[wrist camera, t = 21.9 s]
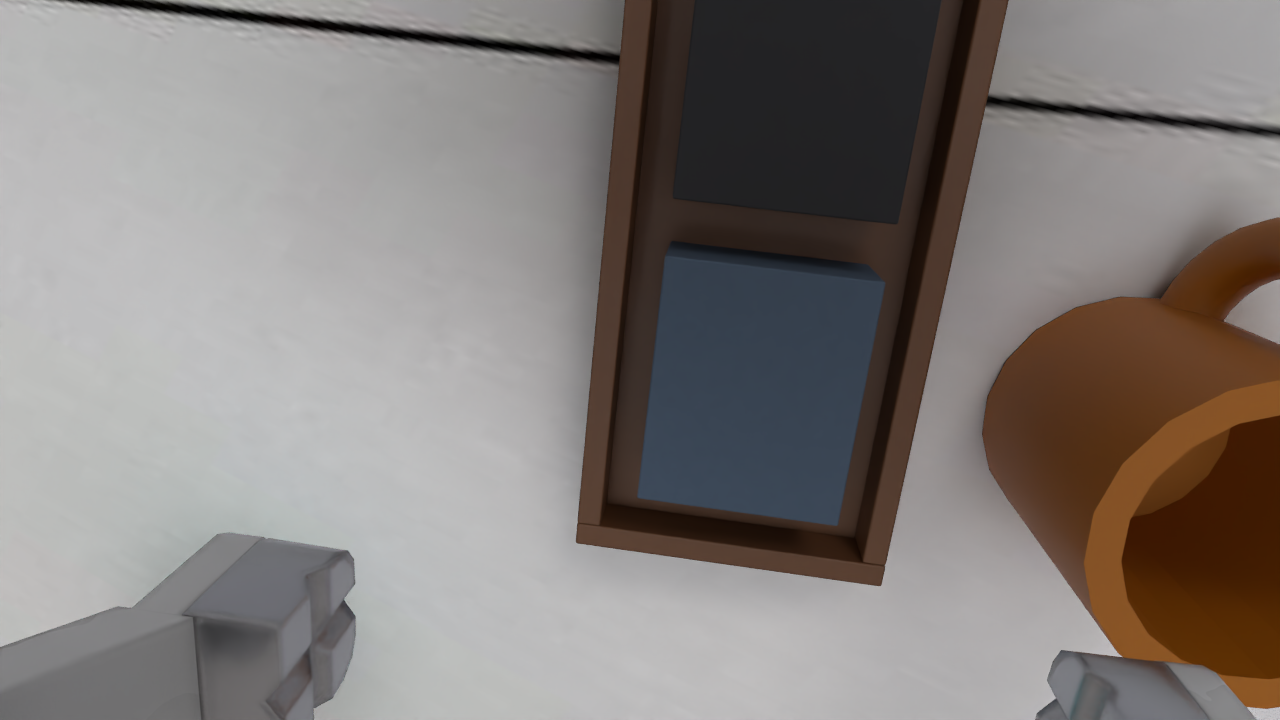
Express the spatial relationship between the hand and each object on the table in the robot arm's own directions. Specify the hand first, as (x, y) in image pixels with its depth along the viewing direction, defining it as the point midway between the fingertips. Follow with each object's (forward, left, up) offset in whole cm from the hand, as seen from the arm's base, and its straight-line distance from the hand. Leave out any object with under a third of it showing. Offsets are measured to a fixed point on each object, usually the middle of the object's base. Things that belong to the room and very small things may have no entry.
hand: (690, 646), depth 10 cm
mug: (-9, +12, -20) cm, 25 cm away
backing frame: (-3, 0, -20) cm, 20 cm away
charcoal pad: (-7, -3, -19) cm, 20 cm away
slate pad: (+1, +3, -19) cm, 19 cm away
